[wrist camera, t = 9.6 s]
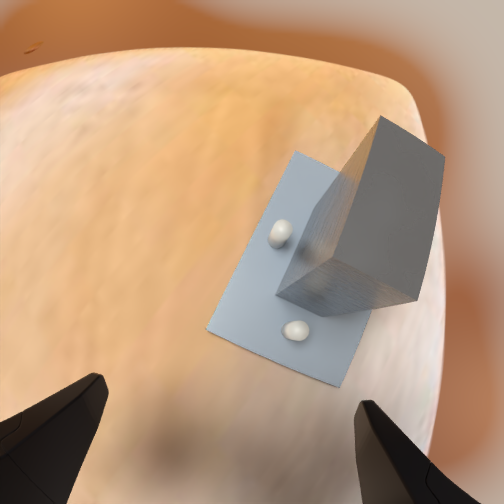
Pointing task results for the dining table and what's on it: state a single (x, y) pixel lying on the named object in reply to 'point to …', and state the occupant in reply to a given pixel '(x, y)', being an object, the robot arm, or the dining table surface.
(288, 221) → the grey peg board
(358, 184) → the block
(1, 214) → the dining table surface
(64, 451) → the robot arm
